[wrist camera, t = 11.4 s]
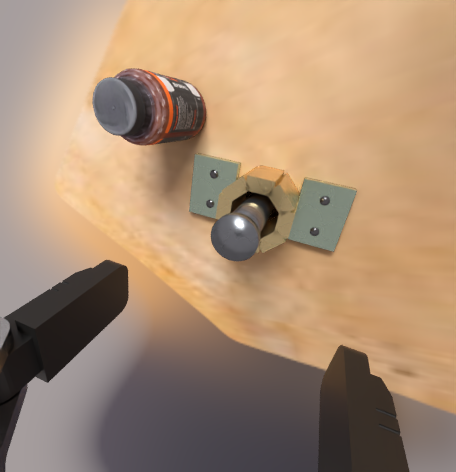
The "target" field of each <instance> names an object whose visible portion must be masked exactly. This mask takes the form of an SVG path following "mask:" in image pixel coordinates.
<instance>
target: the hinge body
mask: <svg viewBox="0 0 456 472" xmlns="http://www.w3.org/2000/svg"><path fill="white" fill-rule="evenodd" d="M240 165H241V163H240V162H235V161H231V160H226V159H222V158H217V157H213V156H208V155H204V154H200V153H198V154H195V159H194V169H193V179H192V189H191V199H190V209H189V212H193V213H197V214H200V215H204V216H207V217H211V218H214V219H218V220H219V219H220V218H221V217H222V216H223V215H225V214H228V213H233V212H234V211H235V210H236V209H237V208H238V207H239V206H240V205H241V204H242V203H243V202H244V201H245V198H246V193H247V191H251V192H255V193H259V194H263V195H267V196H269V198H270V199H271V201H272V203H273V204H274V206H275V207H276V209H277V211H278V212H279V215H278V216H276V217H274V218H272V219H270V220H267V222H266V223H265V225H264V227H263V229H262V230H261V232H260V243H259V246H258V248H257V250H256V252H255V253H259V251H260V250H261V252H262V253H264V252H266V251H268V250H270V249H272V248H274V247H276V246H278V245H281V244H283V243H285V241H286V239H290V240H293V241H297V242H301V243H304V244H308V245H311V246H315V247H319V248H322V249H326V250H329V251H333V252H334V250H335V247H336V244H337V242H338V239H339V237H340V234H341V231H342V229H343V226H344V224H345V221H346V218H347V216H348V213H349V211H350V208H351V205H352V203H353V200H354V198H355V195H356V192H357V190H356V189H355V188H351V187H346V186H342V185H337V184H333V183H329V182H324V181H320V180H315V179H311V178H306V177H305V179H304V182H303V186H302V189H301V193H299V191H298V189H297V188H296V186H295V184H294V183H293V181H292V180H291V178H290V176H289V175H288V173H287V174H285V175H283V174H284V170H279V169H275V168H270V167H266V166H260V167H255V168H254V169H252V170H251V171H249V172H248V173H246V174H245V175H243V176H242V177H240V178H239V179H238V176H239V171H240ZM299 194H300V196H299Z"/></svg>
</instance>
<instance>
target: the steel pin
mask: <svg viewBox="0 0 456 472" xmlns="http://www.w3.org/2000/svg"><path fill="white" fill-rule="evenodd" d="M274 207H275V206H274V204H273V203H272V201H271V199H270V198H269V196H267V195H263V194H259V193H255V192H253V193H252V194H251V195H250V196H249V197H248V198H247V199H246V200H245V201H244V202H243V203H242V204H241V205H240V206H239V207H238V208H237V209H236V210H235V211H234V212H233V213H228V214H225V215H223V216H222V217H221V218H220V219H219V220H218V221H217V222H216V223H215V224H214V226H213V228H212V231H211V241H212V244H213V246H214V248H215V250H216V251H217V252H218V253H219V254H220V255H221V256H222V257H224V258H226V259H228V260H231V261H244V260H247V259H249V258H250V257H251V256H253V254H254V253H255V252H256V250H257V248H258V246H259V243H260V232H261V230H262V229H263V227H264V225H265V223H266V222H267V220H268V218H269V216H270V214H271V213H272V211H273V209H274Z"/></svg>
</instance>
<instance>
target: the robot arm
mask: <svg viewBox="0 0 456 472" xmlns="http://www.w3.org/2000/svg"><path fill="white" fill-rule="evenodd" d="M127 301H128V269H127V267H126V266H124V265H121V264H119V263H115V262H113V261H110V260H105V261H103V262H102V263H100V264H99V265H97V266H96V267H94V268H88V269H85V270H83V271H79V272H77V273H74V274H73V275H71V276H70V277H68V278H67V279H65V280H63V282H62V283H58V284H57V285H55V286H54V287H52V289H51V290H50V289H49V290H47V291H46V292H44V293H43V294H41V295H39V296H38V297H36V298H35V299H33V300H32V301H30V302H29V303H27V304H25V305H24V306H22V307H20V308H19V309H17V310H16V311H14V312H12V313H11V314H9V315H8V316H6V317H4V318H2V317H0V472H5V463H6V456H7V452H8V448H9V446H10V443H11V440H12V436H13V433H14V430H15V427H16V424H17V420H18V417H19V414H20V411H21V408H22V405H23V401H24V398H25V395H26V392H27V388H28V387H27V383H29V382H30V381H31V380H32V379H33V378H34V377H37V378H39V379H41V380H43V381H45V382H49V381H50V380H51V379H52V378H53V377H54V376H55V375H56V374H57V373H58V372H59V371H60V370H61V369H63V368H64V367H65V366H66V365H67V364H68V363H69V362H70V361H71V360H72V359H73V358H74V357H75V356H76V355H77V354H78V353H79V352H80V351H81V350H82V349H83V348H84V347H85V346H87V344H89V343H90V342H91V341H92V340H93V339H94V338H95V337H96V336H97V335H98V334H99V333H100V332H101V331H102V330H103V329H104V328H105V327H106V326H107V325H108V324H109V323H110V322H112V320H114V319H115V318H116V317H117V316H118V315H119V314H120V313H121V312H122V311H123V309H124V308H125V306H126V304H127ZM318 462H319V463H318V472H409V468H408V464H407V459H406V455H405V450H404V446H403V442H402V438H401V436H400V429H399V425H398V420H397V419H396V412H395V407H394V403H393V399H392V396H391V394H390V392H389V391H388V389H387V387H386V385H385V384H384V382H383V380H382V379H381V378H380V377H377V376H374V375H372V374H370V368H369V362H368V357H367V355H366V354H365V353H362V352H359V351H357V350H354V349H351V348H348V347H346V346H343V345H340V346H339V347H338V349H337V351H336V353H335V355H334V357H333V359H332V361H331V363H330V365H329V367H328V369H327V371H326V373H325V375H324V378H323V381H322V385H321V390H320V418H319V458H318Z"/></svg>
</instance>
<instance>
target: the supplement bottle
mask: <svg viewBox="0 0 456 472" xmlns="http://www.w3.org/2000/svg"><path fill="white" fill-rule="evenodd" d="M93 108H94V112H95V116H96V117H97V120H98V122H99V123H100V125H101V126H102V127H103V128H104V129H105V130H106V131H108V132H109V133H111V134H113V135H119V136H121V137H123V138H124V139H125V140H127V141H128V142H130V143H133V144H136V145H153V144H160V143H167V142H174V141H181V140H187V139H190V138H192V137H194V136H195V135H196V134H197V133H198V132H199V131H200V130H201V128H202V127H203V124H204V121H205V116H206V108H205V102H204V100H203V97H202V96H201V94H200V92H199V91H198V90H197V88H195V87H194V86H193V85H192V84H190V83H188V82H185V81H183V80H179V79H176V78H172V77H168V76H164V75H160V74H157V73H153V72H150V71H146V70H142V69H126V70H124V71H122V72H120V73H118V74H117V75H116V76H115V77H114V78H112V77H111V78H105V79H103V80H102V81H100V82H99V83H98V84H97V86H96V88H95V90H94V93H93Z"/></svg>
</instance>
